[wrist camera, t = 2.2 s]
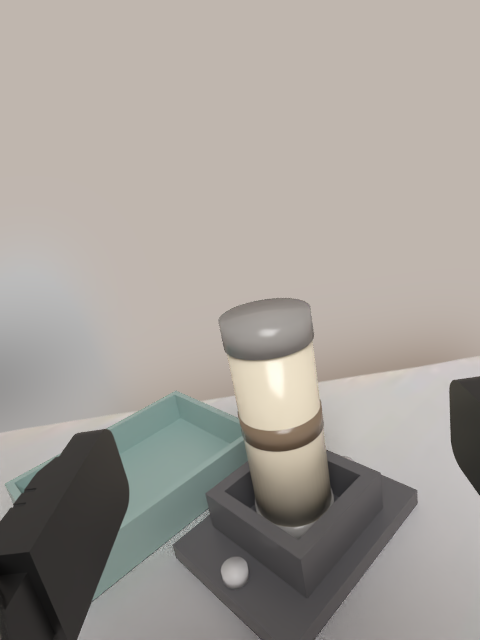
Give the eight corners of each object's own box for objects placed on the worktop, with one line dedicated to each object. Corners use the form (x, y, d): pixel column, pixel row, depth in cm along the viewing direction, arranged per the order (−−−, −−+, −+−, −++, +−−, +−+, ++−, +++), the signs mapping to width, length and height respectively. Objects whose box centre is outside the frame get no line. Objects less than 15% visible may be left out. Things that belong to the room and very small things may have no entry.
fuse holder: (292, 668, 18) (281, 611, 17) (176, 557, 25) (162, 511, 24) (417, 503, 26) (415, 456, 25) (302, 451, 32) (296, 412, 31)
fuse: (302, 565, 22) (265, 336, 18) (242, 523, 25) (200, 322, 21) (351, 511, 25) (329, 302, 21) (292, 479, 28) (262, 295, 24)
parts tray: (78, 612, 23) (61, 571, 22) (18, 517, 31) (4, 483, 30) (266, 461, 32) (260, 428, 31) (182, 418, 40) (176, 390, 39)
